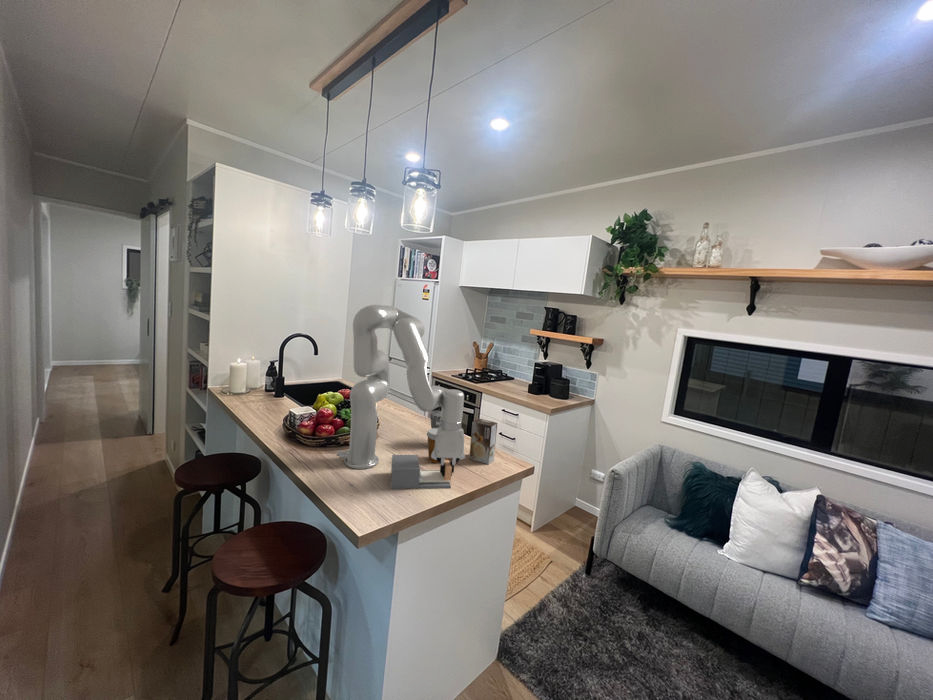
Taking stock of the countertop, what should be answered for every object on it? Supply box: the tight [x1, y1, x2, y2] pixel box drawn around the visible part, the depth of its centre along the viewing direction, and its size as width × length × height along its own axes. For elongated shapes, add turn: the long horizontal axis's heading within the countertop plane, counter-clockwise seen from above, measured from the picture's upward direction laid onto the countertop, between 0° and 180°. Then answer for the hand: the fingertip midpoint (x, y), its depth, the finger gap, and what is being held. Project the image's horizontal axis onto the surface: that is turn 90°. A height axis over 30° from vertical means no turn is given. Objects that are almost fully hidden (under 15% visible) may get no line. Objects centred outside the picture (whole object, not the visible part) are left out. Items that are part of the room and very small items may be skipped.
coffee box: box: [468, 418, 498, 465], centre depth 154 cm, size 9×6×16 cm
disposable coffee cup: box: [426, 428, 440, 464], centre depth 149 cm, size 10×10×12 cm
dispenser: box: [390, 454, 452, 490], centre depth 131 cm, size 20×12×7 cm, turn 102°
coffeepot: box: [429, 406, 442, 429], centre depth 165 cm, size 15×9×18 cm, turn 159°
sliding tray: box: [419, 459, 452, 483], centre depth 131 cm, size 18×8×5 cm, turn 102°
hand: (446, 474), depth 133 cm, fingers closed on sliding tray, 2 cm apart
